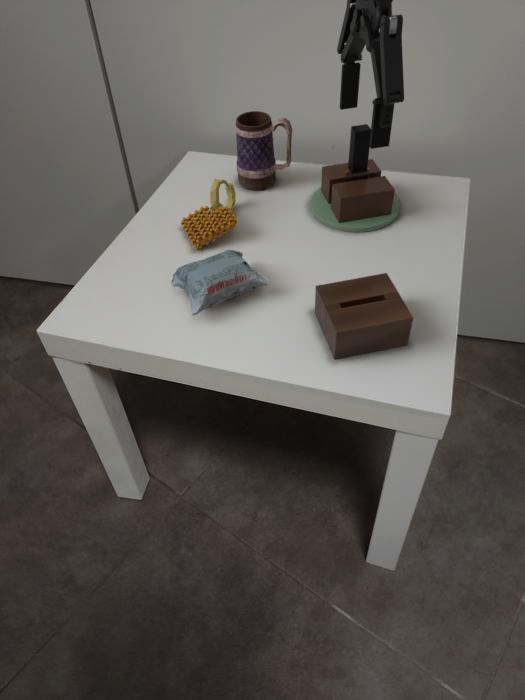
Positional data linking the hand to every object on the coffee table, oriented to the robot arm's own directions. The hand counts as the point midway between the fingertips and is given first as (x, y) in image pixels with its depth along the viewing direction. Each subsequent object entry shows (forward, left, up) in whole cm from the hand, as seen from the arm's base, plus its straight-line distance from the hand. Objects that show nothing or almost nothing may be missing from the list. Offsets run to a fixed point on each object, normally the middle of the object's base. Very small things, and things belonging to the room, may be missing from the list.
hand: (362, 126), depth 82 cm
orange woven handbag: (+1, +24, -14) cm, 28 cm away
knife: (0, 0, -13) cm, 13 cm away
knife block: (-28, +9, -14) cm, 32 cm away
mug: (+12, +13, -14) cm, 23 cm away
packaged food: (-16, +26, -14) cm, 34 cm away
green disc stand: (0, 0, -14) cm, 14 cm away
